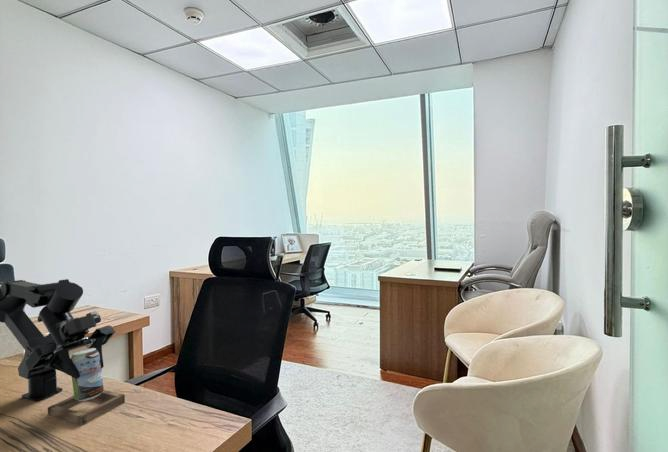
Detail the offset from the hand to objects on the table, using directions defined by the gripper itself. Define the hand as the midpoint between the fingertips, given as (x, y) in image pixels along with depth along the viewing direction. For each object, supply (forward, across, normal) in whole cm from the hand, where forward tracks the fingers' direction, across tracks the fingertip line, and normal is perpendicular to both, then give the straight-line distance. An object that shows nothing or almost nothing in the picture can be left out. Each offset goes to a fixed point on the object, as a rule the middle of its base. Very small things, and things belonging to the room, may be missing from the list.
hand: (90, 372), depth 87 cm
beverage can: (+4, 0, +6) cm, 7 cm away
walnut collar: (+6, 0, +7) cm, 9 cm away
